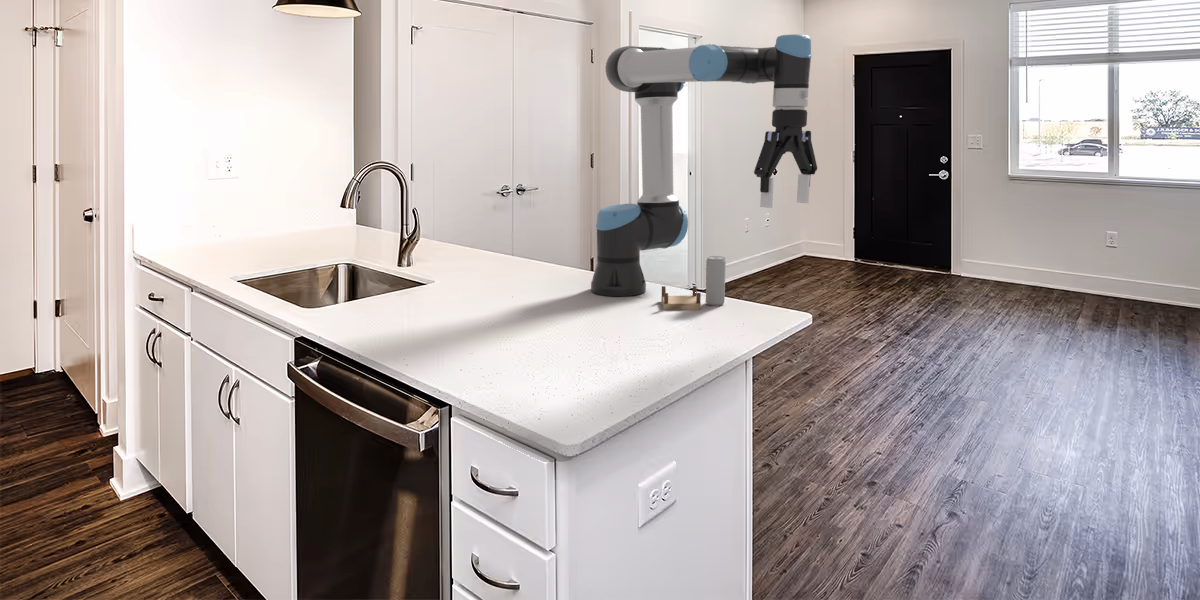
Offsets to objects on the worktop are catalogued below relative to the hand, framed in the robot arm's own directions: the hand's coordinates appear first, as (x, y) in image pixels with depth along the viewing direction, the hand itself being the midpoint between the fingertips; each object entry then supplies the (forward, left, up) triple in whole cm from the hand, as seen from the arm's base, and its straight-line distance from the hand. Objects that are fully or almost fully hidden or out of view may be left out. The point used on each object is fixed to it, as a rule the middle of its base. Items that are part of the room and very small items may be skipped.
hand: (784, 205), depth 174 cm
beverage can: (-20, -2, -27) cm, 34 cm away
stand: (-24, -10, -27) cm, 37 cm away
